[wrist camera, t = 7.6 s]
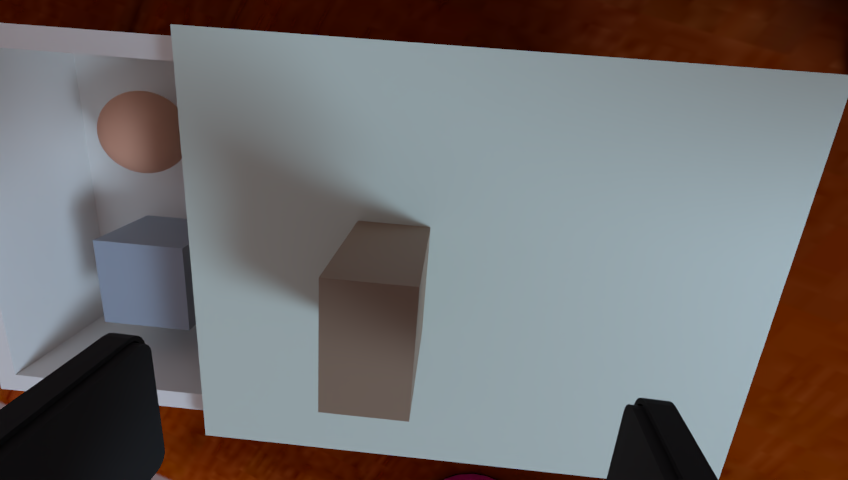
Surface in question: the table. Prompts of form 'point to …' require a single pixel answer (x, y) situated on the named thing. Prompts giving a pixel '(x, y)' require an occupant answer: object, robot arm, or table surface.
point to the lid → (485, 240)
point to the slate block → (147, 274)
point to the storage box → (76, 200)
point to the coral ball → (140, 131)
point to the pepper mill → (469, 477)
